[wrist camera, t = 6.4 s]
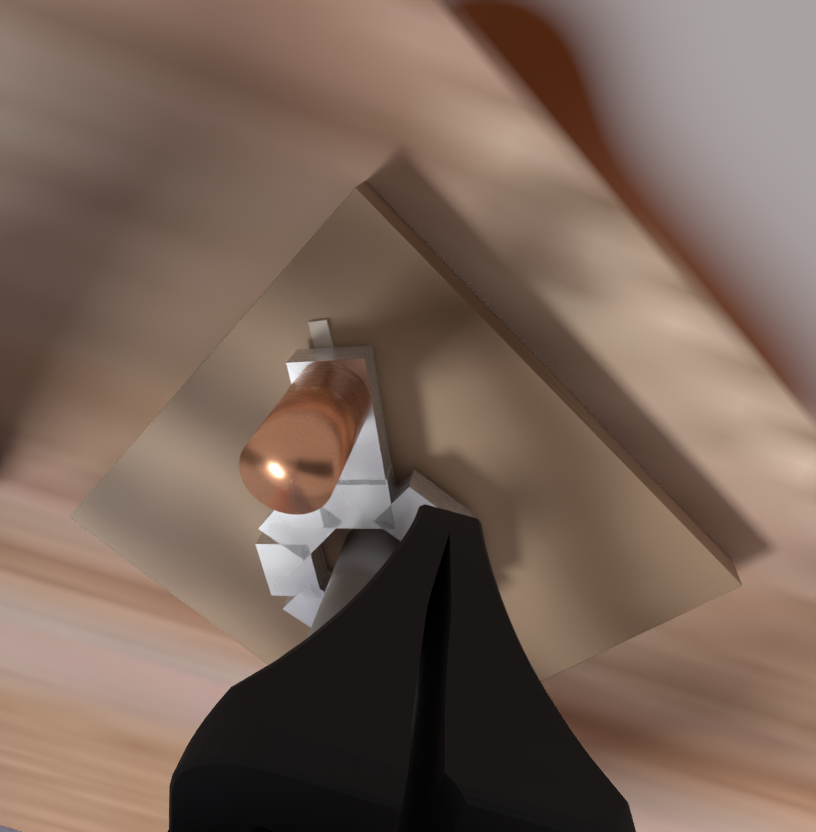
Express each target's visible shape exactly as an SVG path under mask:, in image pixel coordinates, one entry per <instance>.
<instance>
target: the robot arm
mask: <svg viewBox="0 0 816 832" xmlns="http://www.w3.org/2000/svg"><path fill="white" fill-rule="evenodd" d="M0 832H21V831H18V830H15V829H11V828H8V827H5V826H2V825H0ZM168 832H636V830H635V826H634V823H633V819H632V815H631V812H630V808H629V805H628V802H627V801H626V800H625V799H624V797H623V796H622V795H621V794H620V792H619V791H618V790H617V789H616V788H615V786H614V785H613V784H612V783H611V782H610V780H609V779H608V778H607V777H606V776H605V774H604V773H603V772H602V771H601V769H600V768H599V767H598V766H597V765H596V763H595V762H594V761H593V760H592V759H591V757H590V756H589V755H588V753H587V752H586V751H585V749H584V748H583V746H582V745H581V744H580V742H579V741H578V740H577V738H576V737H575V735H574V734H573V733H572V731H571V730H570V728H569V727H568V725H567V724H566V722H565V720H564V719H563V717H562V716H561V714H560V713H559V711H558V710H557V708H556V706H555V705H554V703H553V702H552V700H551V699H550V697H549V696H548V694H547V692H546V691H545V689H544V687H543V685H542V684H541V682H540V680H539V678H538V676H537V675H536V673H535V671H534V669H533V667H532V665H531V663H530V662H529V660H528V658H527V656H526V654H525V652H524V650H523V648H522V646H521V643H520V641H519V639H518V637H517V635H516V632H515V630H514V628H513V625H512V623H511V621H510V618H509V616H508V613H507V611H506V608H505V606H504V603H503V600H502V598H501V595H500V592H499V589H498V586H497V583H496V580H495V577H494V574H493V571H492V567H491V564H490V560H489V557H488V553H487V549H486V545H485V540H484V535H483V530H482V524H481V522H480V521H479V519H477V518H474V517H470V516H466V515H463V514H459V513H455V512H452V511H448V510H444V509H441V508H437V507H434V506H430V505H426V504H424V505H422V506H419V508H418V511H417V514H416V516H415V518H414V521H413V522H412V524H411V526H410V528H409V530H408V531H407V533H406V534H405V536H404V537H403V539H402V541H401V542H400V543H399V545H398V546H397V547H396V549H395V550H394V552H393V553H392V554H391V556H390V557H389V558H388V560H387V561H386V562H385V563H384V565H383V566H382V567H381V568H380V569H379V570H378V572H377V573H376V574H375V575H374V576H373V577H372V579H371V580H370V581H369V582H368V583H367V584H366V585H365V586H364V588H363V589H362V590H361V591H360V592H359V593H358V594H357V595H356V596H355V597H354V598H353V599H352V600H351V601H350V602H349V603H348V604H347V605H345V606H344V607H343V608H342V609H341V610H340V611H339V612H338V613H337V614H336V615H335V616H333V617H332V618H331V619H330V620H329V621H328V622H326V623H325V624H324V625H323V626H322V627H321V628H319V629H318V630H317V631H316V632H314V633H313V634H312V635H311V636H309V637H308V638H307V639H305V640H304V641H302V642H301V643H300V644H298V645H297V646H295V647H294V648H293V649H291V650H290V651H288V652H287V653H286V654H284V655H283V656H281V657H280V658H279V659H277V660H276V661H274V662H273V663H271V664H269V665H268V666H266V667H265V668H263V669H261V670H259V671H258V672H256V673H254V674H253V675H251V676H249V677H248V678H246V679H244V680H243V681H241V682H239V683H237V684H236V685H234V686H232V687H231V688H230V689H229V690H228V691H227V693H226V694H225V695H224V696H223V697H222V698H221V700H220V701H219V702H218V703H217V704H216V705H215V707H214V708H213V709H212V710H211V712H210V713H209V714H208V716H207V717H206V718H205V719H204V721H203V722H202V724H201V725H200V726H199V728H198V729H197V731H196V733H195V734H194V736H193V737H192V739H191V740H190V742H189V744H188V745H187V747H186V749H185V751H184V753H183V755H182V757H181V759H180V761H179V763H178V765H177V767H176V769H175V771H174V773H173V776H172V779H171V783H170V795H169V830H168Z"/></svg>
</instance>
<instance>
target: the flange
mask: <svg viewBox="0 0 816 832" xmlns="http://www.w3.org/2000/svg"><path fill="white" fill-rule="evenodd" d="M286 364H287V368H288V373H289V377H290V381H291V386H290V387H289V388H288V390H287V391H286V392H285V394H284V395H283V396H282V398H281V399H280V400H279V402H278V403H277V404H276V406H275V407H274V408H273V410H272V411H271V412H270V414H269V415H268V416H267V418H266V419H265V420H264V422H263V423H262V424H261V426H260V427H259V428H258V430H257V431H256V432H255V434H254V435H253V436H252V438H251V439H250V440H249V442H248V443H247V444H246V446H245V447H244V449H243V450H242V452H241V455H240V459H239V471H240V475H241V478H242V481H243V483H244V485H245V486H246V488H247V489H248V491H249V492H250V493H251V494H252V495H253V496H254V497H255V498H256V499H257V500H258V501H259V502H261V503H262V504H264V505H265V506H267V507H269V508H271V509H270V510H269V511H268V513H267V515H266V516H265V518H264V520H263V521H262V523H261V525H260V527H259V528H258V529H259V530H261V531H262V533H261V535H260V537H259V539H258V540H257V542H256V544H255V545H256V548H257V551H258V554H259V557H260V561H261V564H262V567H263V570H264V573H265V577H266V580H267V583H268V586H269V589H270V593H271V595H274V596H288V598H287V600H286V603H285V605H284V607H283V610H285V611H286V612H288V613H289V614H291V615H292V616H294V617H295V618H297V619H299V620H300V621H302V622H303V623H305V624H306V625H308V626H309V627H312V624H313V622H314V619H315V616H316V614H317V611H318V609H319V606H320V603H321V601H322V598H323V596H324V593H325V591H326V588H327V585H328V583H329V580H330V578H331V575H332V573H331V572H330V571H328V570H327V567H326V563H325V559H324V555H323V551H322V547H321V543H322V542H323V541H324V540H325V539H326V538H327V537H328V536H329V535H330V534H331V533H332V532H333V531H334V530H335V529H336V528H350V529H384V530H385V531H387V532H388V533H390V534H391V535H392V536H394V537H395V538H397V539H398V540H399V541H402V539H403V537H404V536H405V534H406V533H407V531H408V530H409V528H410V526H411V524H412V522H413V521H414V518H415V516H416V514H417V511H418V508H419V506H422V505H424V504H426V505H430V506H434V507H437V508H441V509H444V510H448V511H452V512H455V513H459V514H463V515H466V516H470V517H471V511H469V510H468V509H467V508H465V507H464V506H463V505H461V504H460V503H459V502H457V501H456V500H455V499H453V498H452V497H451V496H449V495H448V494H447V493H445V492H444V491H443V490H441V489H440V488H439V487H437V486H436V485H435V484H433V483H432V482H431V481H429V480H428V479H427V478H425V477H424V476H423V475H421V474H420V473H419V472H417V471H416V470H415V469H414V470H413V471H412V472H411V473H410V474H409V475H408V476H407V477H406V478H405V479H404V480H403V481H402V482H401V483H400V484H399V485H398V486H397V485H396V479H395V473H394V467H393V462H391V457H390V451H389V445H388V439H387V433H386V427H385V421H384V415H383V408H382V402H381V396H380V390H379V384H378V378H377V372H376V366H375V360H374V354H373V348H372V345H370V346H351V347H333V348H315V349H297V350H296V351H295V353H294V354H293V355H292V356H291V357H290V359H289V360H288V361H287V362H286Z"/></svg>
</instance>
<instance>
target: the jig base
mask: <svg viewBox="0 0 816 832" xmlns="http://www.w3.org/2000/svg"><path fill="white" fill-rule="evenodd" d="M370 345H372V348H373V354H374V360H375V366H376V372H377V378H378V384H379V390H380V396H381V402H382V408H383V415H384V421H385V427H386V433H387V439H388V445H389V451H390V457H391V462H393V467H394V473H395V479H396V485H397V486H398V485H399V484H400V483H401V482H402V481H403V480H404V479H405V478H406V477H407V476H408V475H409V474H410V473H411V472H412V471H413V470H414V469H415V470H416V471H417V472H419V473H420V474H421V475H423V476H424V477H425V478H427V479H428V480H429V481H431V482H432V483H433V484H435V485H436V486H437V487H439V488H440V489H441V490H443V491H444V492H445V493H447V494H448V495H449V496H451V497H452V498H453V499H455V500H456V501H457V502H459V503H460V504H461V505H463V506H464V507H465V508H467V509H468V510H469V511H471V517H474V518H477V519H479V521H480V522H481V524H482V530H483V535H484V540H485V545H486V549H487V553H488V557H489V560H490V564H491V567H492V571H493V574H494V577H495V580H496V583H497V586H498V589H499V592H500V595H501V598H502V600H503V603H504V606H505V608H506V611H507V613H508V616H509V618H510V621H511V623H512V625H513V628H514V630H515V632H516V635H517V637H518V639H519V641H520V643H521V646H522V648H523V650H524V652H525V654H526V656H527V658H528V660H529V662H530V663H531V665H532V667H533V669H534V671H535V673H536V675H537V676H538V678H539V680H540V681H542V680H544V679H546V678H548V677H551V676H553V675H555V674H557V673H559V672H561V671H563V670H565V669H567V668H570V667H572V666H574V665H576V664H578V663H580V662H582V661H584V660H586V659H588V658H591V657H593V656H595V655H597V654H599V653H601V652H603V651H605V650H607V649H609V648H612V647H614V646H616V645H618V644H620V643H622V642H624V641H626V640H628V639H631V638H633V637H635V636H637V635H639V634H641V633H643V632H645V631H647V630H649V629H652V628H654V627H656V626H658V625H660V624H662V623H664V622H666V621H668V620H670V619H673V618H675V617H677V616H679V615H681V614H683V613H685V612H687V611H689V610H692V609H694V608H696V607H698V606H700V605H702V604H704V603H706V602H708V601H710V600H713V599H715V598H717V597H719V596H721V595H723V594H725V593H727V592H729V591H731V590H734V589H736V588H738V587H740V586H742V584H741V581H740V579H739V576H738V574H737V572H736V569H735V567H734V564H733V562H732V560H731V559H730V558H729V557H728V556H727V555H726V554H725V553H724V552H723V551H722V550H721V549H720V548H719V547H718V546H717V545H716V544H715V543H714V542H713V541H712V540H711V539H710V538H709V537H708V536H707V535H706V533H705V532H704V531H703V530H702V529H701V528H700V527H699V526H698V525H697V524H696V523H695V522H694V521H693V520H692V519H691V518H690V517H689V516H688V515H687V514H686V513H685V512H684V511H683V510H682V509H681V508H680V507H679V505H678V504H677V503H676V502H675V501H674V500H673V499H672V498H671V497H670V496H669V495H668V494H667V493H666V492H665V491H664V490H663V489H662V488H661V487H660V486H659V485H658V484H657V483H656V482H655V481H654V480H653V479H652V477H651V476H650V475H649V474H648V473H647V472H646V471H645V470H644V469H643V468H642V467H641V466H640V465H639V464H638V463H637V462H636V461H635V460H634V459H633V458H632V457H631V456H630V455H629V454H628V453H627V452H626V451H625V449H624V448H623V447H622V446H621V445H620V444H619V443H618V442H617V441H616V440H615V439H614V438H613V437H612V436H611V435H610V434H609V433H608V432H607V431H606V430H605V429H604V428H603V427H602V426H601V425H600V424H599V423H598V421H597V420H596V419H595V418H594V417H593V416H592V415H591V414H590V413H589V412H588V411H587V410H586V409H585V408H584V407H583V406H582V405H581V404H580V403H579V402H578V401H577V400H576V399H575V398H574V397H573V396H572V395H571V393H570V392H569V391H568V390H567V389H566V388H565V387H564V386H563V385H562V384H561V383H560V382H559V381H558V380H557V379H556V378H555V377H554V376H553V375H552V374H551V373H550V372H549V371H548V370H547V369H546V368H545V366H544V365H543V364H542V363H541V362H540V361H539V360H538V359H537V358H536V357H535V356H534V355H533V354H532V353H531V352H530V351H529V350H528V349H527V348H526V347H525V346H524V345H523V344H522V343H521V342H520V341H519V340H518V338H517V337H516V336H515V335H514V334H513V333H512V332H511V331H510V330H509V329H508V328H507V327H506V326H505V325H504V324H503V323H502V322H501V321H500V320H499V319H498V318H497V317H496V316H495V315H494V314H493V313H492V312H491V310H490V309H489V308H488V307H487V306H486V305H485V304H484V303H483V302H482V301H481V300H480V299H479V298H478V297H477V296H476V295H475V294H474V293H473V292H472V291H471V290H470V289H469V288H468V287H467V286H466V285H465V284H464V282H463V281H462V280H461V279H460V278H459V277H458V276H457V275H456V274H455V273H454V272H453V271H452V270H451V269H450V268H449V267H448V266H447V265H446V264H445V263H444V262H443V261H442V260H441V259H440V258H439V257H438V256H437V254H436V253H435V252H434V251H433V250H432V249H431V248H430V247H429V246H428V245H427V244H426V243H425V242H424V241H423V240H422V239H421V238H420V237H419V236H418V235H417V234H416V233H415V232H414V231H413V230H412V229H411V228H410V226H409V225H408V224H407V223H406V222H405V221H404V220H403V219H402V218H401V217H400V216H399V215H398V214H397V213H396V212H395V211H394V210H393V209H392V208H391V207H390V206H389V205H388V204H387V203H386V202H385V201H384V200H383V198H382V197H381V196H380V195H379V194H378V193H377V192H376V191H375V190H374V189H373V188H372V187H371V186H370V185H369V184H368V183H367V182H366V181H364V182H363V183H362V184H360V185H359V186H357V187H356V188H355V189H354V190H353V191H352V192H351V193H350V194H349V196H348V197H347V198H346V199H345V200H344V201H343V203H342V204H341V205H340V206H339V207H338V208H337V209H336V211H335V212H334V213H333V214H332V215H331V216H330V217H329V219H328V220H327V221H326V222H325V223H324V224H323V226H322V227H321V228H320V229H319V230H318V231H317V232H316V234H315V235H314V236H313V237H312V238H311V239H310V240H309V242H308V243H307V244H306V245H305V246H304V247H303V249H302V250H301V251H300V252H299V253H298V254H297V255H296V257H295V258H294V259H293V260H292V261H291V262H290V263H289V265H288V266H287V267H286V268H285V269H284V270H283V272H282V273H281V274H280V275H279V276H278V277H277V278H276V280H275V281H274V282H273V283H272V284H271V285H270V286H269V288H268V289H267V290H266V291H265V292H264V293H263V294H262V296H261V297H260V298H259V299H258V300H257V301H256V303H255V304H254V305H253V306H252V307H251V308H250V309H249V311H248V312H247V313H246V314H245V315H244V316H243V317H242V319H241V320H240V321H239V322H238V323H237V324H236V326H235V327H234V328H233V329H232V330H231V331H230V332H229V334H228V335H227V336H226V337H225V338H224V339H223V340H222V342H221V343H220V344H219V345H218V346H217V347H216V349H215V350H214V351H213V352H212V353H211V354H210V355H209V357H208V358H207V359H206V360H205V361H204V362H203V363H202V365H201V366H200V367H199V368H198V369H197V370H196V372H195V373H194V374H193V375H192V376H191V377H190V378H189V380H188V381H187V382H186V383H185V384H184V385H183V386H182V388H181V389H180V390H179V391H178V392H177V393H176V395H175V396H174V397H173V398H172V399H171V400H170V401H169V403H168V404H167V405H166V406H165V407H164V408H163V409H162V411H161V412H160V413H159V414H158V415H157V416H156V417H155V419H154V420H153V421H152V422H151V423H150V424H149V426H148V427H147V428H146V429H145V430H144V431H143V432H142V434H141V435H140V436H139V437H138V438H137V439H136V440H135V442H134V443H133V444H132V445H131V446H130V447H129V449H128V450H127V451H126V452H125V453H124V454H123V455H122V457H121V458H120V459H119V460H118V461H117V462H116V463H115V465H114V466H113V467H112V468H111V469H110V470H109V472H108V473H107V474H106V475H105V476H104V477H103V478H102V480H101V481H100V482H99V483H98V484H97V485H96V486H95V488H94V489H93V490H92V491H91V492H90V493H89V495H88V496H87V497H86V498H85V499H84V500H83V501H82V503H81V504H80V505H79V506H78V507H77V508H76V509H75V511H74V512H73V513H72V514H71V515H70V516H69V518H70V519H72V520H73V521H74V522H76V523H77V524H78V525H80V526H81V527H82V528H84V529H85V530H87V531H88V532H89V533H91V534H92V535H93V536H95V537H96V538H97V539H99V540H100V541H101V542H103V543H104V544H105V545H107V546H108V547H110V548H111V549H112V550H114V551H115V552H116V553H118V554H119V555H120V556H122V557H123V558H124V559H126V560H127V561H128V562H130V563H131V564H133V565H134V566H135V567H137V568H138V569H139V570H141V571H142V572H143V573H145V574H146V575H147V576H149V577H150V578H151V579H153V580H154V581H155V582H157V583H158V584H160V585H161V586H162V587H164V588H165V589H166V590H168V591H169V592H170V593H172V594H173V595H174V596H176V597H177V598H178V599H180V600H181V601H183V602H184V603H185V604H187V605H188V606H189V607H191V608H192V609H193V610H195V611H196V612H197V613H199V614H200V615H201V616H203V617H204V618H205V619H207V620H208V621H210V622H211V623H212V624H214V625H215V626H216V627H218V628H219V629H220V630H222V631H223V632H224V633H226V634H227V635H228V636H230V637H231V638H233V639H234V640H235V641H237V642H238V643H239V644H241V645H242V646H243V647H245V648H246V649H247V650H249V651H250V652H251V653H253V654H254V655H256V656H257V657H258V658H260V659H261V660H262V661H264V662H265V663H266V664H268V665H269V664H271V663H273V662H274V661H276V660H277V659H279V658H280V657H281V656H283V655H284V654H286V653H287V652H288V651H290V650H291V649H293V648H294V647H295V646H297V645H298V644H300V643H301V642H302V641H304V640H305V639H307V638H308V637H309V636H311V635H312V634H313V633H314V632H316V631H317V630H318V629H319V628H321V627H322V626H323V625H324V624H325V623H326V622H328V621H329V620H330V619H331V618H332V617H333V616H335V615H336V614H337V613H338V612H339V611H340V610H341V609H342V608H343V607H344V606H345V605H347V604H348V603H349V602H350V601H351V600H352V599H353V598H354V597H355V596H356V595H357V594H358V593H359V592H360V591H361V590H362V589H363V588H364V586H365V585H366V584H367V583H368V582H369V581H370V580H371V579H372V577H373V576H374V575H375V574H376V573H377V572H378V570H379V569H380V568H381V567H382V566H383V565H384V563H385V562H386V561H387V560H388V558H389V557H390V556H391V554H392V553H393V552H394V550H395V549H396V547H397V546H398V545H399V543H400V542H401V541H399V540H398V539H397V538H395V537H394V536H392V535H391V534H390V533H388V532H387V531H385V530H384V529H350V528H336V529H335V530H334V531H333V532H332V533H331V534H330V535H329V536H328V537H327V538H326V539H325V540H324V541H323V542H322V543H321V547H322V551H323V555H324V559H325V563H326V567H327V570H328V571H330V572H331V573H332V575H331V578H330V580H329V583H328V585H327V588H326V591H325V593H324V596H323V598H322V601H321V603H320V606H319V609H318V611H317V614H316V616H315V619H314V622H313V624H312V627H309V626H308V625H306V624H305V623H303V622H302V621H300V620H299V619H297V618H295V617H294V616H292V615H291V614H289V613H288V612H286V611H285V610H283V607H284V605H285V603H286V600H287V598H288V596H274V595H271V593H270V589H269V586H268V583H267V580H266V577H265V573H264V570H263V567H262V564H261V561H260V557H259V554H258V551H257V548H256V545H255V544H256V542H257V540H258V539H259V537H260V535H261V533H262V531H261V530H259V529H258V528H259V527H260V525H261V523H262V521H263V520H264V518H265V516H266V515H267V513H268V511H269V510H270V509H271V508H269V507H267V506H265V505H264V504H262V503H261V502H259V501H258V500H257V499H256V498H255V497H254V496H253V495H252V494H251V493H250V492H249V491H248V489H247V488H246V486H245V485H244V483H243V481H242V478H241V475H240V471H239V459H240V455H241V452H242V450H243V449H244V447H245V446H246V444H247V443H248V442H249V440H250V439H251V438H252V436H253V435H254V434H255V432H256V431H257V430H258V428H259V427H260V426H261V424H262V423H263V422H264V420H265V419H266V418H267V416H268V415H269V414H270V412H271V411H272V410H273V408H274V407H275V406H276V404H277V403H278V402H279V400H280V399H281V398H282V396H283V395H284V394H285V392H286V391H287V390H288V388H289V387H290V386H291V381H290V377H289V373H288V368H287V364H286V362H287V361H288V360H289V359H290V357H291V356H292V355H293V354H294V353H295V351H296V350H297V349H315V348H333V347H351V346H370Z"/></svg>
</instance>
